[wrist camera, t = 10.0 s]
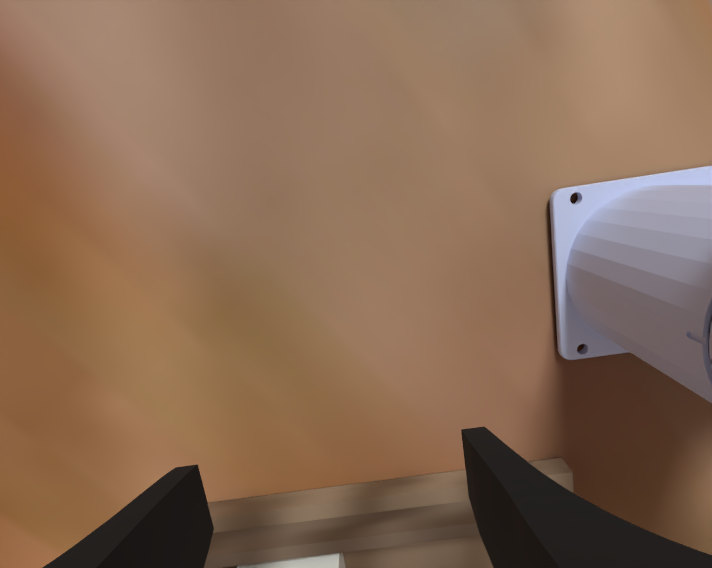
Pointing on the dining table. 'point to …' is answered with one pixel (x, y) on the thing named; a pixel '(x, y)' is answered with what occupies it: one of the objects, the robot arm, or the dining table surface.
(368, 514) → the gauge board
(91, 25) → the dining table surface
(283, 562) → the white block with bar
